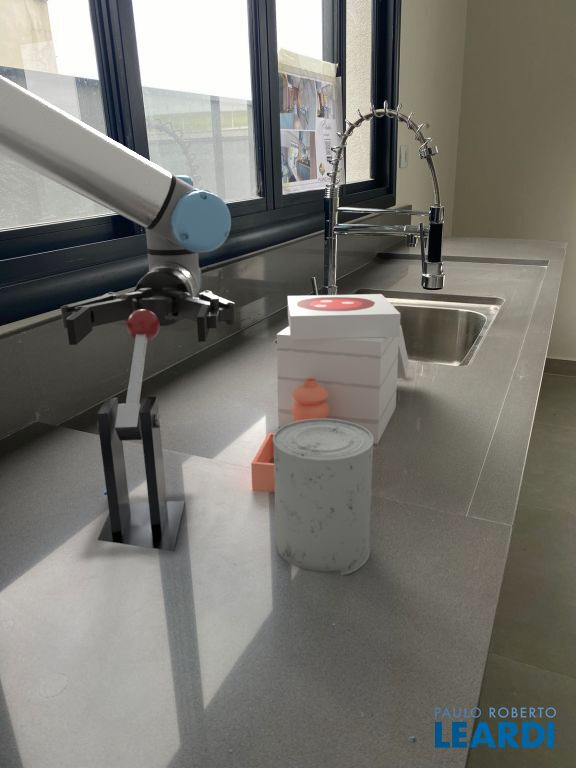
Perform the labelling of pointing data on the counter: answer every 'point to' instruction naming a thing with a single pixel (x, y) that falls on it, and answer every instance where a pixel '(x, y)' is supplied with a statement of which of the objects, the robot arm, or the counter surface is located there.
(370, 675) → the counter surface
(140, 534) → the bracket
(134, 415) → the lever
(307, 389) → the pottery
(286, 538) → the grey tin can
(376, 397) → the pizza boxes
